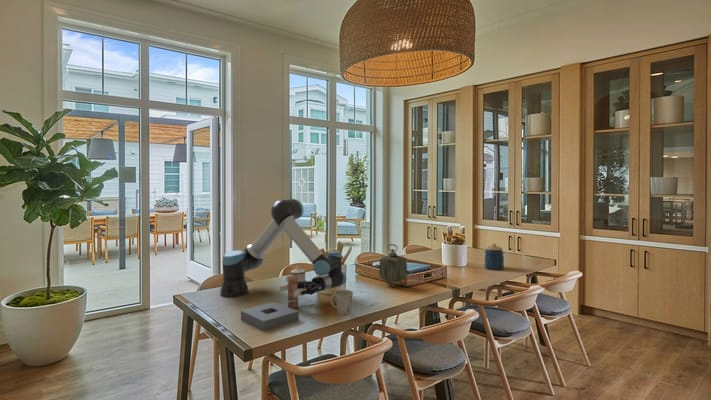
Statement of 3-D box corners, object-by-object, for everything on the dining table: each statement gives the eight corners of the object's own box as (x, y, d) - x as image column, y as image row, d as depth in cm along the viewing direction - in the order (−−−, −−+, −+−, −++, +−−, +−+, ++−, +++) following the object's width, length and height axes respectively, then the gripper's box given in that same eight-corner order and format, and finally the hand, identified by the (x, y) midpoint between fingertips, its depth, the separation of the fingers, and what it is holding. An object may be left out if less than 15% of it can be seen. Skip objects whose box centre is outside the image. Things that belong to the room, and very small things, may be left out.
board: (240, 319, 180) (240, 310, 180) (274, 310, 192) (274, 301, 192) (263, 330, 165) (263, 321, 165) (298, 319, 178) (298, 311, 178)
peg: (286, 308, 195) (285, 276, 194) (294, 305, 198) (293, 274, 198) (291, 310, 191) (291, 277, 191) (300, 308, 195) (299, 276, 194)
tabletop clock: (407, 286, 232) (406, 244, 231) (398, 289, 225) (398, 246, 224) (387, 282, 241) (386, 242, 240) (378, 285, 235) (377, 244, 233)
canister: (486, 270, 272) (486, 244, 271) (483, 266, 284) (483, 242, 284) (505, 270, 270) (505, 245, 269) (501, 266, 282) (501, 242, 282)
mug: (346, 317, 180) (346, 295, 180) (324, 312, 187) (324, 292, 187) (356, 312, 188) (356, 291, 187) (334, 307, 194) (334, 287, 194)
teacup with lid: (303, 283, 243) (303, 264, 242) (307, 287, 234) (307, 267, 234) (284, 285, 238) (283, 266, 237) (287, 289, 229) (287, 269, 229)
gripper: (336, 294, 198) (301, 304, 183) (307, 286, 216) (273, 294, 201) (336, 280, 198) (301, 288, 183) (306, 272, 216) (273, 279, 201)
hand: (286, 291), depth 192 cm, fingers open, 12 cm apart
